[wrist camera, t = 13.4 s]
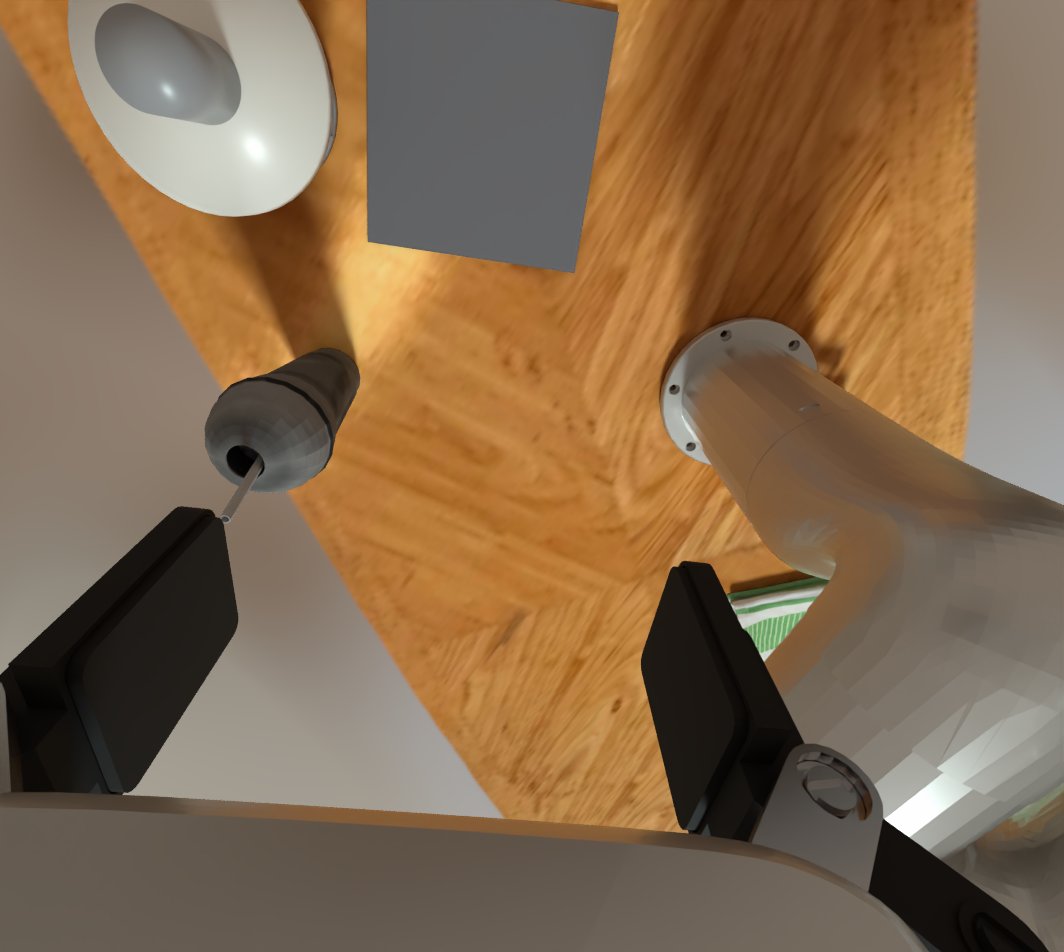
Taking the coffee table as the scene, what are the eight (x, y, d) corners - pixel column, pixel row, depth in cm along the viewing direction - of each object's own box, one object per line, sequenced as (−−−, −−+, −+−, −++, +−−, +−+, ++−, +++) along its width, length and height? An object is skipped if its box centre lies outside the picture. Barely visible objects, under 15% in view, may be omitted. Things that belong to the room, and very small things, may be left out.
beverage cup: (316, 310, 41) (161, 405, 23) (395, 372, 43) (308, 500, 26) (268, 378, 43) (95, 510, 26) (345, 433, 46) (234, 588, 28)
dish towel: (737, 731, 66) (745, 751, 64) (718, 591, 56) (727, 609, 53) (887, 703, 64) (901, 723, 62) (897, 553, 54) (914, 570, 51)
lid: (327, -55, 27) (279, -114, 21) (337, 230, 33) (302, 239, 27) (50, -105, 26) (-73, -180, 20) (114, 198, 32) (33, 201, 26)
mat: (617, 14, 33) (618, 12, 32) (573, 272, 40) (574, 272, 39) (368, -34, 31) (366, -36, 31) (369, 241, 39) (367, 241, 38)
